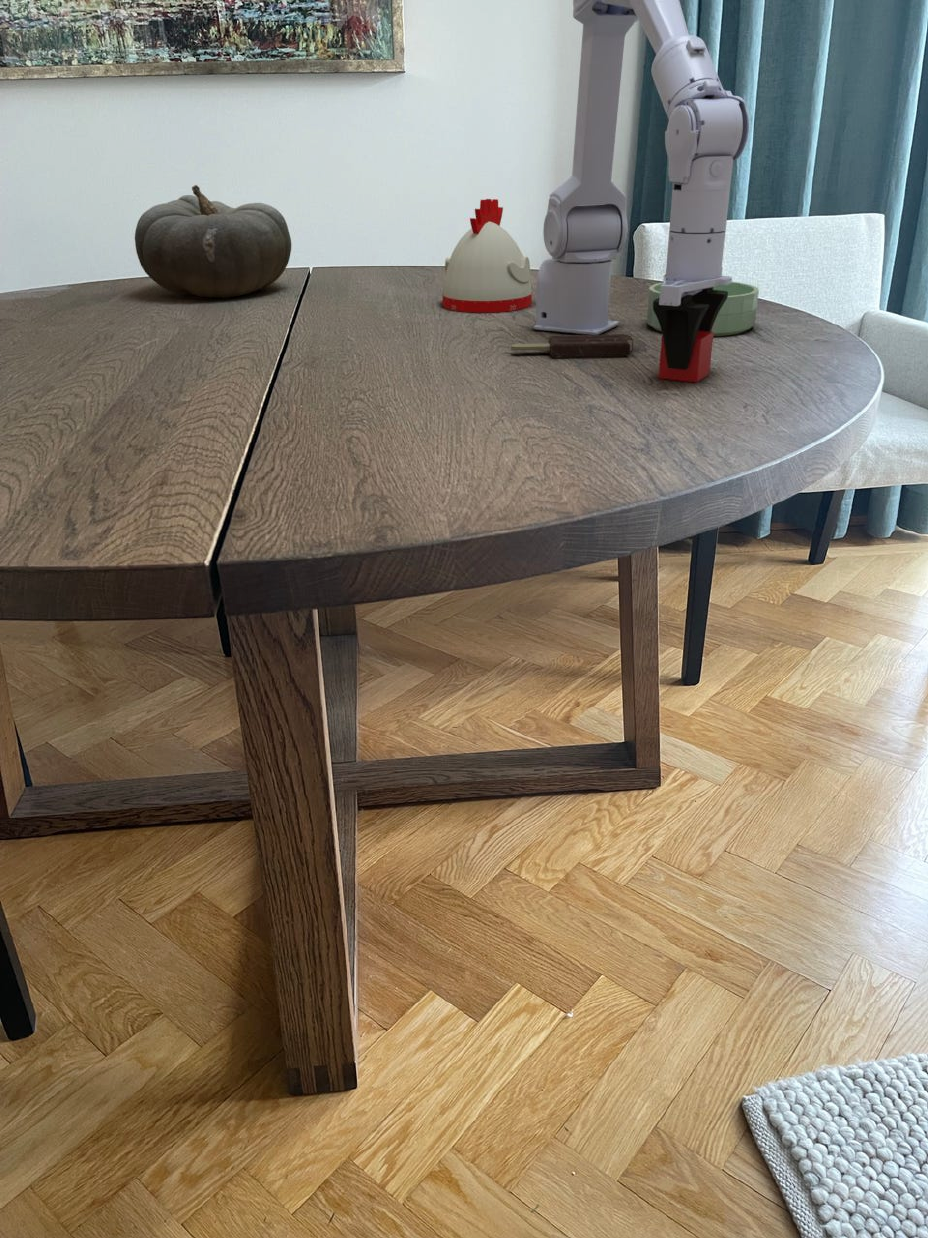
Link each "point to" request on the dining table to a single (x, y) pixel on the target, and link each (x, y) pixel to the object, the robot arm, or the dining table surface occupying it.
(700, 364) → the red cube
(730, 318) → the bowl
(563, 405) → the dining table surface
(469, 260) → the kitchen timer
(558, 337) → the ice cream bar
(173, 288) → the gourd
